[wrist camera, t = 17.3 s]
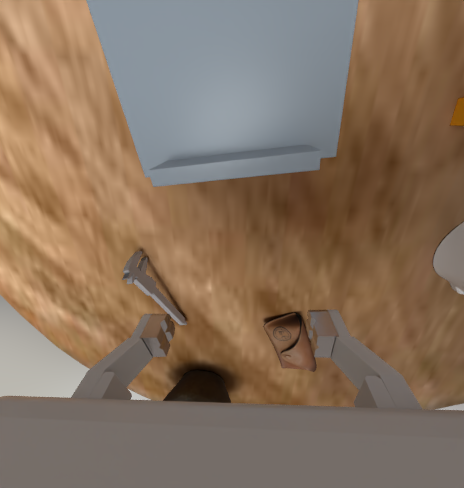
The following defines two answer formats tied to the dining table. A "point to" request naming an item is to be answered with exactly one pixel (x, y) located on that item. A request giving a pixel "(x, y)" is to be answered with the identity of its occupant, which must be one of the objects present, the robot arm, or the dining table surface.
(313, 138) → the lid
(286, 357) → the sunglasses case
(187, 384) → the pitcher
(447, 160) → the dining table surface
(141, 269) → the caliper
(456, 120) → the pipe clamp
